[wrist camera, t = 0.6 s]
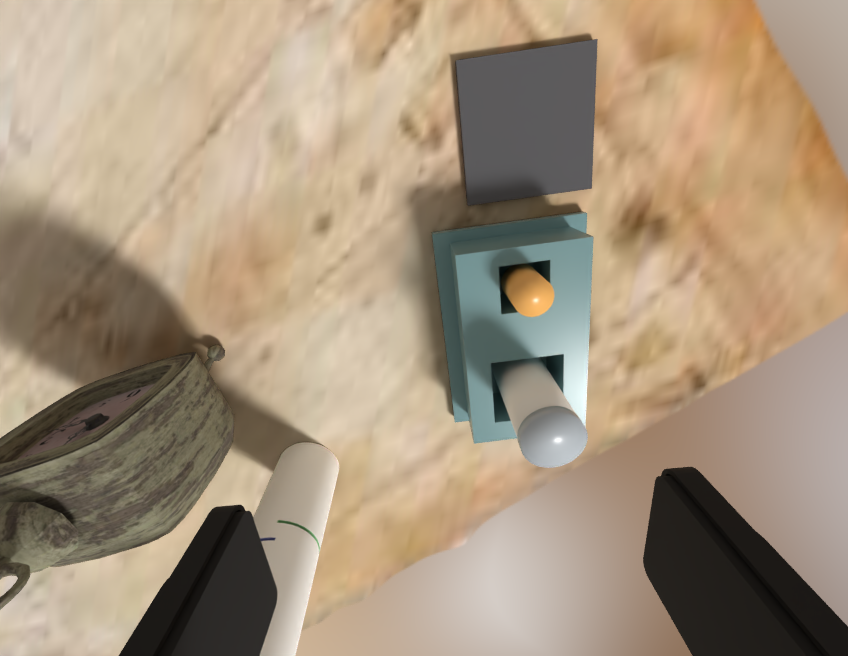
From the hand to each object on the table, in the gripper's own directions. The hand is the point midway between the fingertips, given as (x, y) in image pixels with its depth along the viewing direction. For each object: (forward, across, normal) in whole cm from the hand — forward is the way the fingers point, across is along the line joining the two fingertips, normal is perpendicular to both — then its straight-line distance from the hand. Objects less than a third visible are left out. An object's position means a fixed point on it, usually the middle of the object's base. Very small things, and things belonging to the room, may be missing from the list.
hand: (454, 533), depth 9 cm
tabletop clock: (+31, +27, +11) cm, 42 cm away
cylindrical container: (+31, +16, +23) cm, 42 cm away
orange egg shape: (+26, -8, +2) cm, 28 cm away
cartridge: (+30, -8, +12) cm, 33 cm away
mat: (+30, -9, -10) cm, 33 cm away
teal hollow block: (+31, -8, +8) cm, 33 cm away
